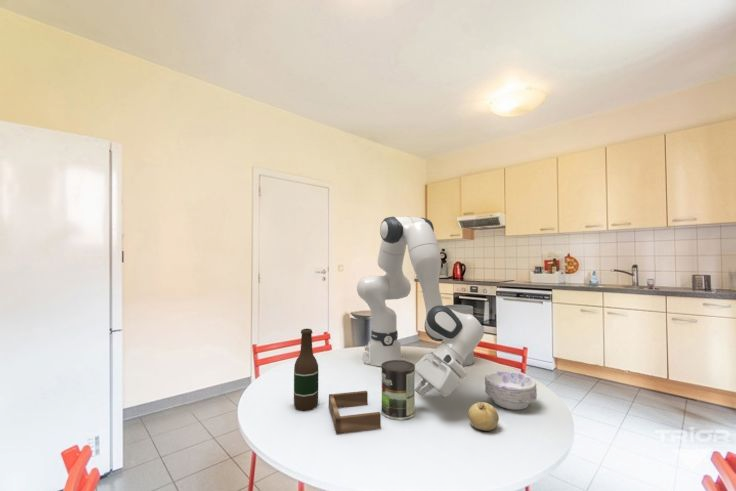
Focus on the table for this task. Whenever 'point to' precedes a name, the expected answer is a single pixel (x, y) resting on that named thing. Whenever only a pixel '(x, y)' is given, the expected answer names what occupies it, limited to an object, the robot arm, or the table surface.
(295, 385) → the beer bottle
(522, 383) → the paper bowls
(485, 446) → the table surface
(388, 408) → the coffee can
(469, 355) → the cylinder vase
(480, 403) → the onion
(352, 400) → the caddy
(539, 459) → the table surface
